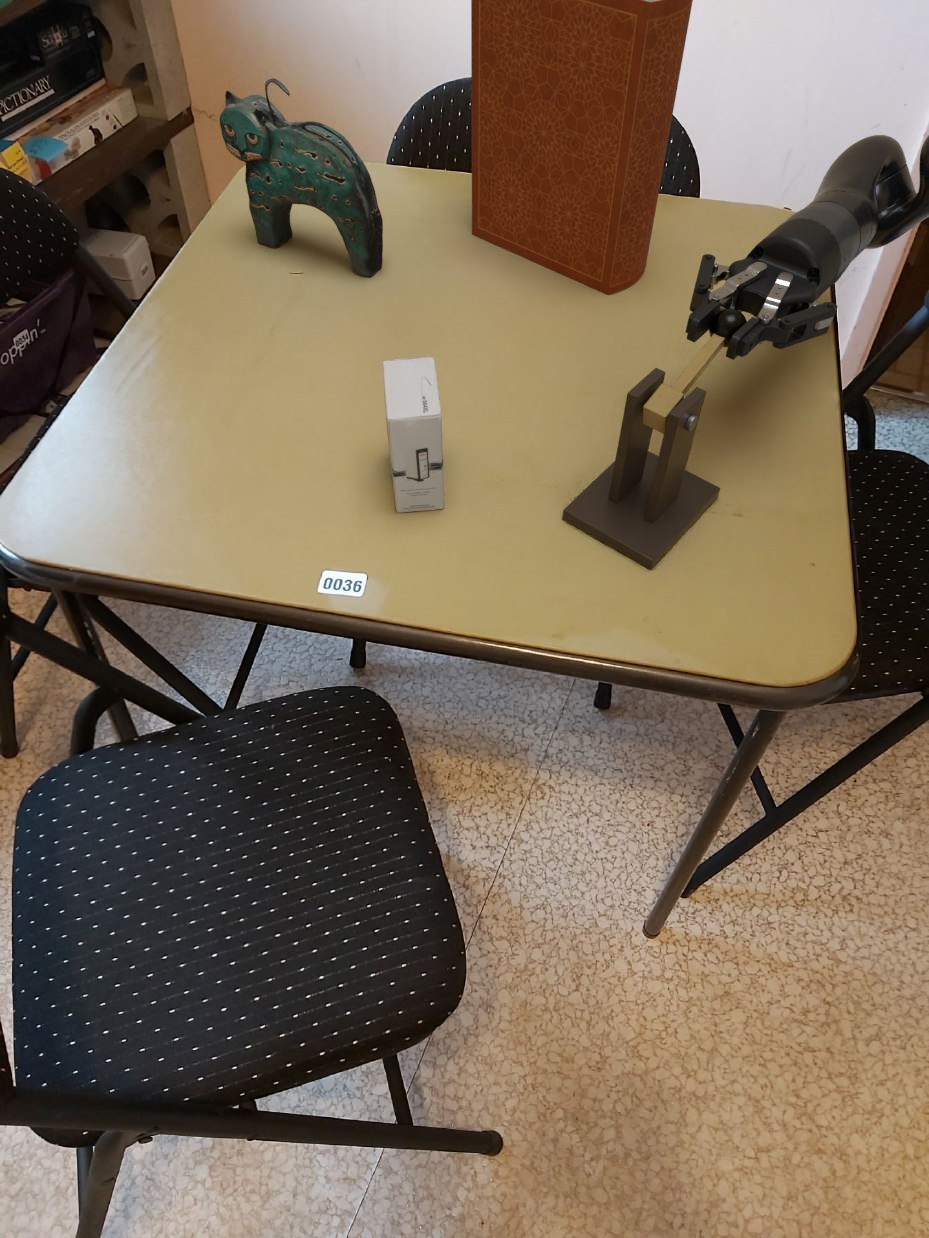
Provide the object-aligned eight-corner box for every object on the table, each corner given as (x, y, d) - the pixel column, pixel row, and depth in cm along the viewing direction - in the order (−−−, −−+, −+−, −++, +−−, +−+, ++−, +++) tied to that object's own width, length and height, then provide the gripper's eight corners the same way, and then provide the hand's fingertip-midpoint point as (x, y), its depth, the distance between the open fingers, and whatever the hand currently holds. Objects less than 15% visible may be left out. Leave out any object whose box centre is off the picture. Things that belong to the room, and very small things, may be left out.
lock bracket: (631, 452, 85) (654, 335, 74) (717, 497, 81) (756, 380, 70) (561, 519, 80) (576, 403, 69) (650, 570, 76) (681, 456, 65)
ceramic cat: (242, 244, 110) (202, 73, 94) (272, 221, 113) (239, 53, 97) (367, 286, 104) (348, 111, 87) (396, 261, 107) (382, 88, 91)
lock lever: (720, 322, 76) (723, 295, 73) (752, 335, 74) (756, 309, 71) (638, 424, 73) (637, 401, 70) (669, 440, 72) (670, 417, 69)
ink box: (390, 454, 85) (379, 356, 76) (438, 450, 86) (434, 352, 76) (395, 515, 80) (384, 418, 71) (446, 510, 81) (442, 414, 71)
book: (471, 234, 111) (471, -46, 86) (510, 209, 114) (520, -66, 90) (615, 298, 102) (659, 5, 77) (652, 269, 105) (705, -19, 81)
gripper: (747, 194, 79) (649, 270, 71) (890, 245, 74) (802, 334, 66) (726, 268, 85) (634, 346, 77) (857, 321, 80) (773, 410, 72)
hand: (712, 340), depth 71 cm, fingers closed on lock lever, 3 cm apart
